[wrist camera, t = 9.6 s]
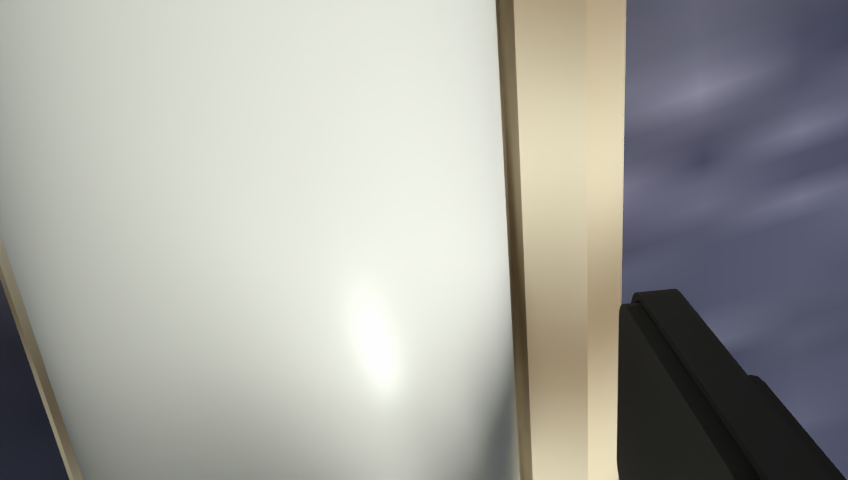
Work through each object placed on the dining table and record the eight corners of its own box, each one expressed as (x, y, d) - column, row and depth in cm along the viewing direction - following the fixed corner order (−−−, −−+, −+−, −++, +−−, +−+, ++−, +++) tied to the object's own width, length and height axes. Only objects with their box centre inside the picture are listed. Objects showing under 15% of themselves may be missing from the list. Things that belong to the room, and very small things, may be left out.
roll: (58, -41, 11) (-263, -17, 5) (459, -80, 11) (545, -96, 6) (221, 574, 16) (138, 923, 10) (500, 541, 16) (569, 867, 10)
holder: (-92, -162, 12) (-609, -268, 6) (601, -229, 12) (827, -403, 6) (150, 598, 18) (28, 932, 12) (598, 553, 18) (703, 863, 12)
